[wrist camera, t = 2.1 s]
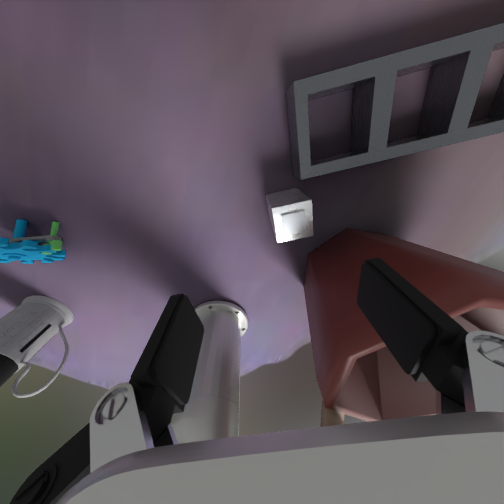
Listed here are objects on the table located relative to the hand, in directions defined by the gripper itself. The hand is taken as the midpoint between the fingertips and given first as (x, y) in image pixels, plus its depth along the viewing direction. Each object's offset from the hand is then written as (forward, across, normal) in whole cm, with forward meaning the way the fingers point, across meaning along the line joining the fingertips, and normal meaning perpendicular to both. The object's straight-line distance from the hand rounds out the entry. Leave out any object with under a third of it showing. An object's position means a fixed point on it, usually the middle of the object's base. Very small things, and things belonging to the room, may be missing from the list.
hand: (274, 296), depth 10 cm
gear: (+20, +34, -1) cm, 39 cm away
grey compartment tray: (+20, -19, -7) cm, 28 cm away
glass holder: (+19, +43, +14) cm, 49 cm away
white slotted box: (+20, -4, +2) cm, 20 cm away
